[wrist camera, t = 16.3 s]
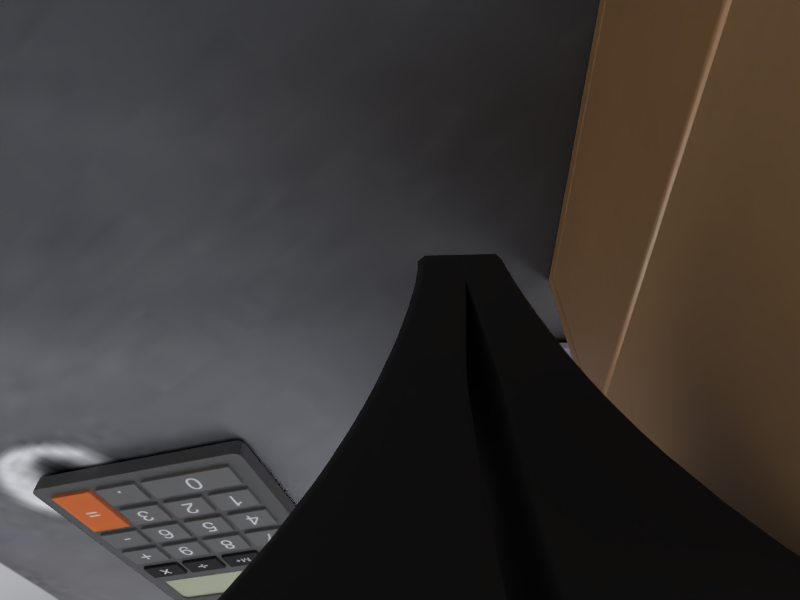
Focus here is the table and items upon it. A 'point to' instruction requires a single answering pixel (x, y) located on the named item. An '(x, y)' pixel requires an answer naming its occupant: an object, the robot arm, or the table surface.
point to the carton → (626, 163)
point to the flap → (730, 283)
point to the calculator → (176, 514)
